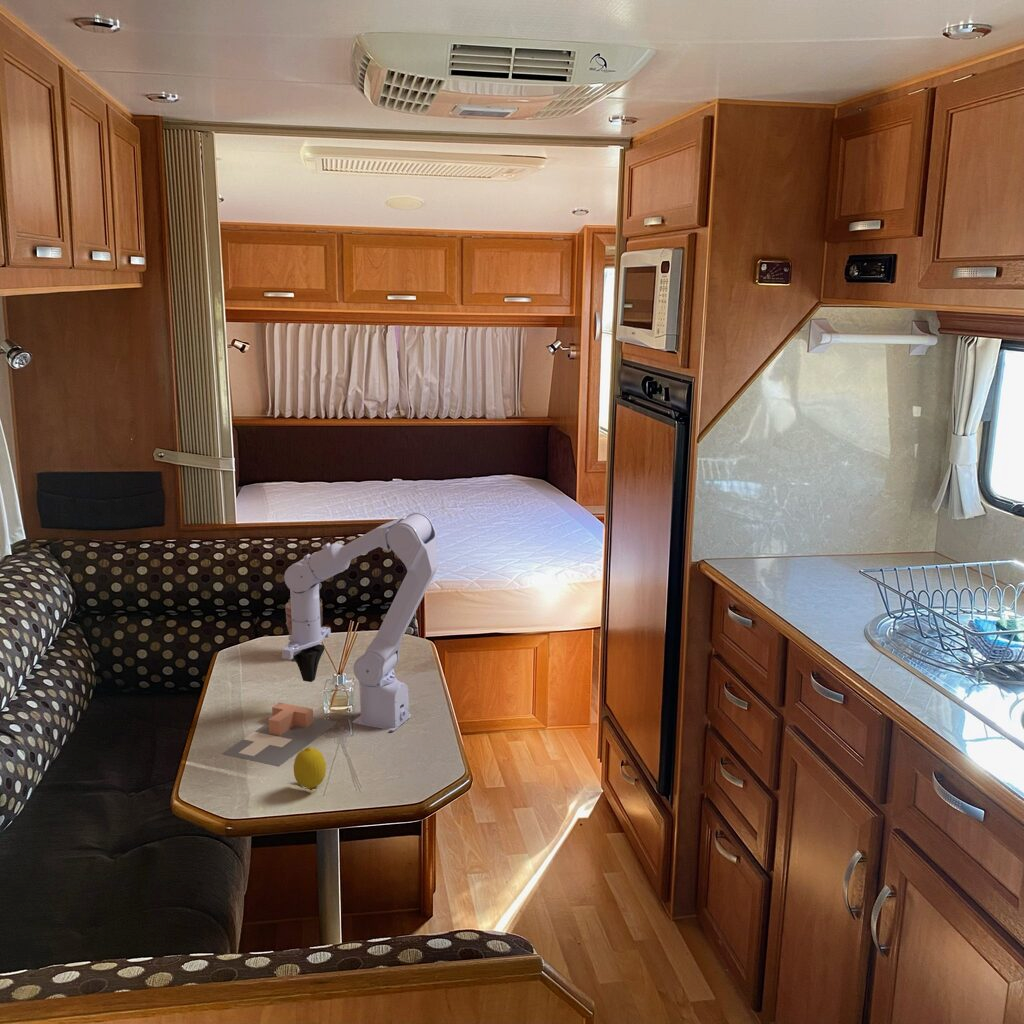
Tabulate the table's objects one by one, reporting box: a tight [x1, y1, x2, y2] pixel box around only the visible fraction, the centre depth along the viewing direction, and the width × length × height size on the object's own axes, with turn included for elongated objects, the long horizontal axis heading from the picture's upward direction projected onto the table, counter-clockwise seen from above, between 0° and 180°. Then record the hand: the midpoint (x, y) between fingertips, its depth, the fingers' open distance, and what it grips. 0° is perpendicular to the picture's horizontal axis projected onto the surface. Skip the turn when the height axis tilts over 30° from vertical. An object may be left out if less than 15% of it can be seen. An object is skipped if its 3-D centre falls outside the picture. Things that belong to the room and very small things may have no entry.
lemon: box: [293, 746, 327, 791], centre depth 170 cm, size 6×6×8 cm
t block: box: [268, 702, 314, 736], centre depth 194 cm, size 8×8×3 cm
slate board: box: [221, 717, 339, 767], centre depth 189 cm, size 13×20×1 cm, turn 158°
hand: (308, 680), depth 200 cm, fingers closed
